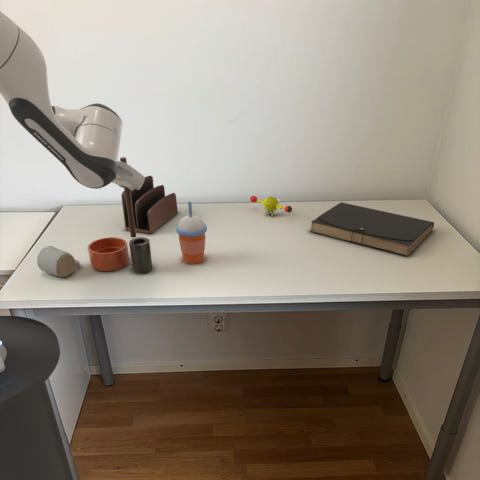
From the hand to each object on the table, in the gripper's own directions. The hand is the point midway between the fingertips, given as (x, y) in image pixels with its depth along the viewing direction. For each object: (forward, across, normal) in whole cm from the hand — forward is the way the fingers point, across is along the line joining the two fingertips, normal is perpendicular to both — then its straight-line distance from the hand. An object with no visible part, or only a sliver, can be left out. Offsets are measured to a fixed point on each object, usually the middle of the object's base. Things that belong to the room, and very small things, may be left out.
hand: (128, 186), depth 138 cm
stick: (+10, 0, +11) cm, 14 cm away
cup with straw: (+26, -10, +8) cm, 29 cm away
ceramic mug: (+6, +16, +28) cm, 33 cm away
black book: (+62, -44, -27) cm, 81 cm away
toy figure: (+56, -9, -22) cm, 61 cm away
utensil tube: (+17, -2, +18) cm, 24 cm away
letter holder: (+36, +21, -2) cm, 42 cm away
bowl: (+14, +8, +20) cm, 26 cm away
